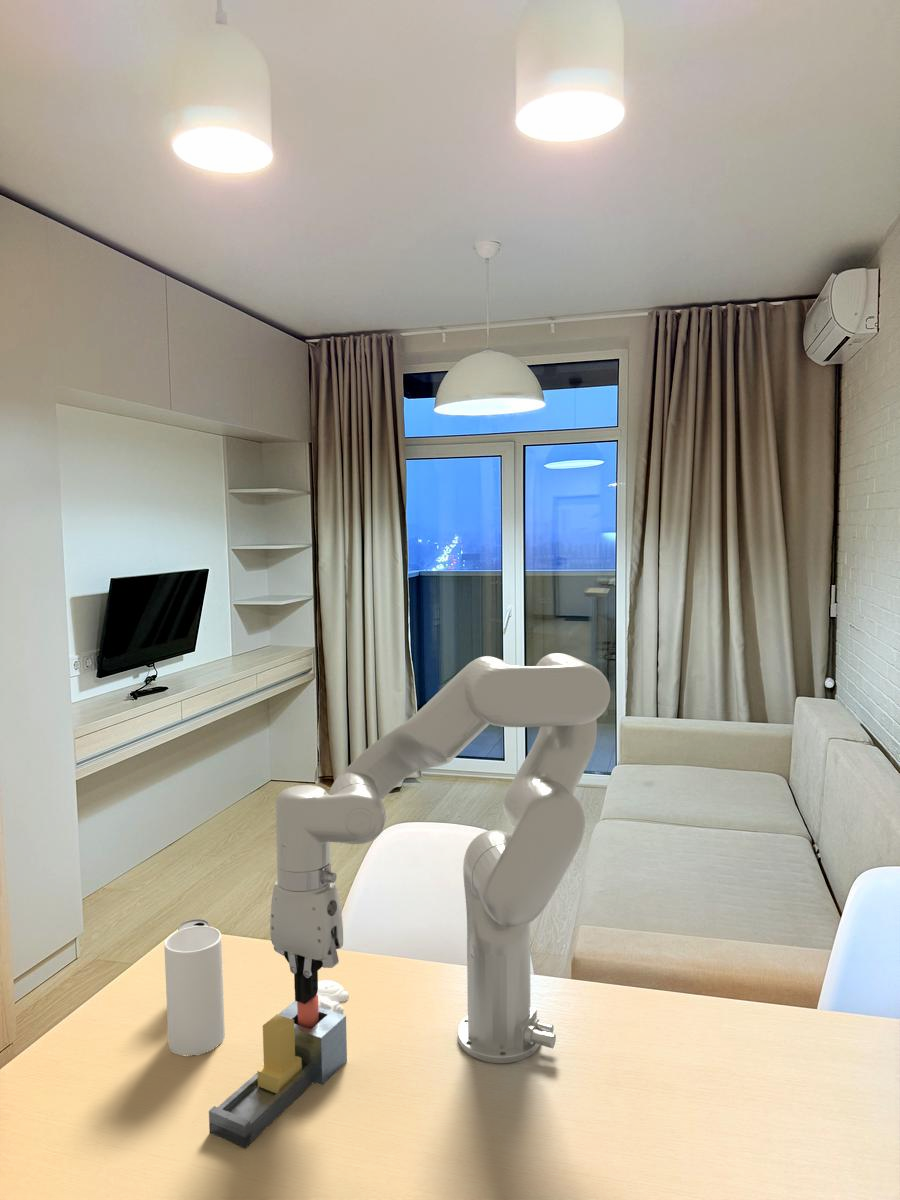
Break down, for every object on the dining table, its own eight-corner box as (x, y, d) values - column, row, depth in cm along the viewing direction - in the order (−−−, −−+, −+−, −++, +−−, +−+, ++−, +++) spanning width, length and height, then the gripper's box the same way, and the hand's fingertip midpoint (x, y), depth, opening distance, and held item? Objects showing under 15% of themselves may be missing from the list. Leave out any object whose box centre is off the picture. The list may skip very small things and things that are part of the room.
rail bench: (347, 1061, 121) (346, 1015, 121) (254, 1152, 104) (253, 1099, 103) (297, 1044, 126) (296, 999, 125) (200, 1129, 108) (198, 1077, 107)
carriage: (301, 1072, 116) (300, 1016, 116) (278, 1094, 112) (277, 1036, 111) (281, 1065, 118) (279, 1010, 117) (257, 1086, 114) (256, 1029, 113)
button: (323, 1027, 121) (322, 995, 121) (310, 1038, 118) (309, 1006, 118) (306, 1021, 122) (305, 990, 122) (293, 1032, 120) (292, 1000, 119)
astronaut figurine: (279, 1027, 131) (278, 1008, 130) (310, 986, 142) (310, 969, 142) (331, 1034, 129) (330, 1015, 128) (358, 992, 140) (358, 975, 140)
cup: (208, 1059, 122) (204, 954, 121) (157, 1052, 124) (153, 949, 123) (234, 1026, 130) (230, 928, 129) (185, 1020, 132) (182, 923, 131)
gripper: (362, 874, 118) (364, 998, 120) (279, 855, 125) (282, 972, 127) (331, 895, 112) (333, 1025, 113) (245, 874, 119) (248, 997, 120)
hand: (306, 997), depth 120 cm, fingers closed
